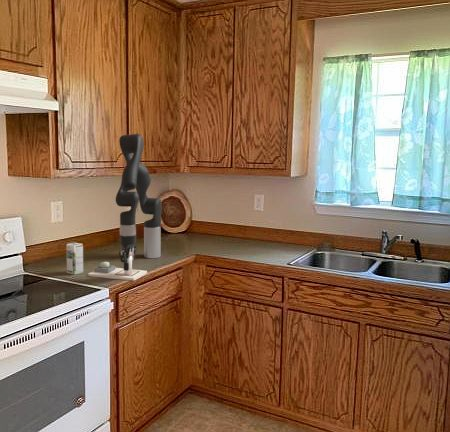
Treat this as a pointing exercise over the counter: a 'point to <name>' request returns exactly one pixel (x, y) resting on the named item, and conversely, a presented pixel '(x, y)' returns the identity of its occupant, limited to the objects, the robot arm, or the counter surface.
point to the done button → (104, 264)
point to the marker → (129, 265)
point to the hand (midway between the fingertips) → (128, 269)
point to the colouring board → (116, 273)
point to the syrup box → (74, 258)
